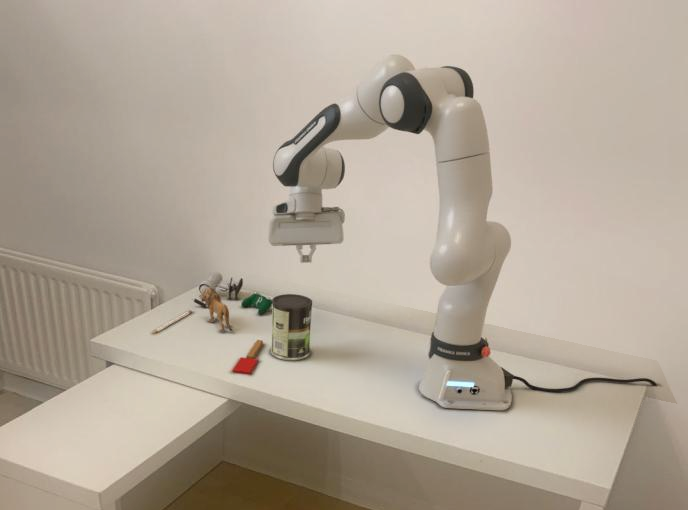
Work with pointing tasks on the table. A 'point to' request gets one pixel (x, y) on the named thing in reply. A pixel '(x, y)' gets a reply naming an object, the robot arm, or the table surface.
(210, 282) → the clip-on lamp
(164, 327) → the pencil
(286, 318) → the coffee can
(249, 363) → the spatula
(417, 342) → the table surface
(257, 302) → the gaming controller
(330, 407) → the table surface
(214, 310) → the lion figurine
